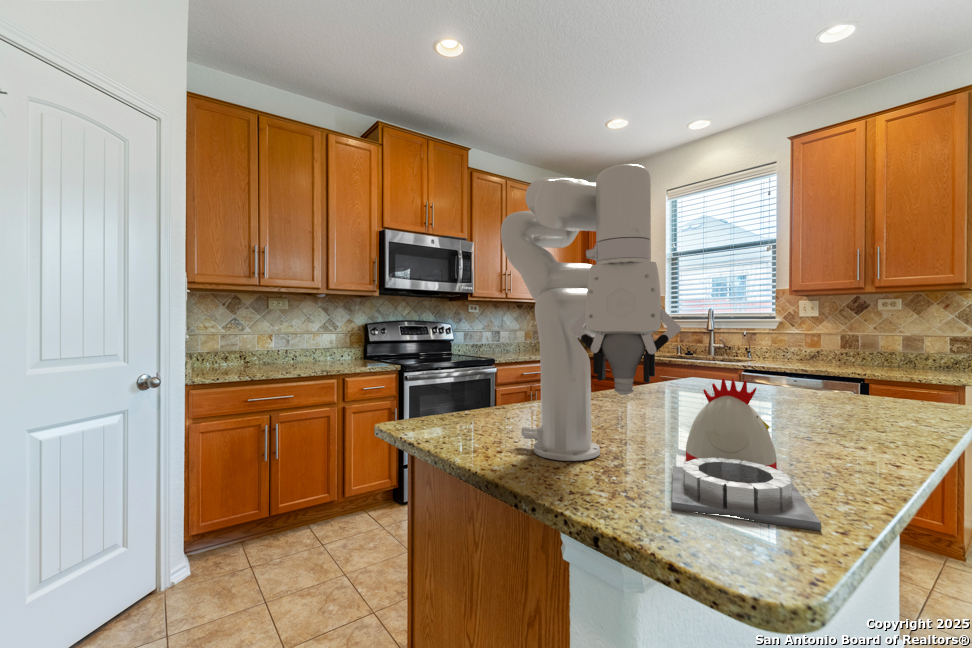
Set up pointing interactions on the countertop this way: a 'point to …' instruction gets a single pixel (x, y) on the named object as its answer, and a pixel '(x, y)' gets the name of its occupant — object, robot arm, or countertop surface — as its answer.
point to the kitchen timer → (730, 429)
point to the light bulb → (623, 358)
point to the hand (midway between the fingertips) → (623, 379)
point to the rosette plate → (763, 515)
